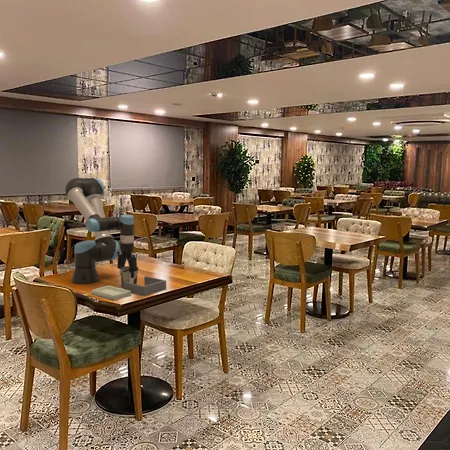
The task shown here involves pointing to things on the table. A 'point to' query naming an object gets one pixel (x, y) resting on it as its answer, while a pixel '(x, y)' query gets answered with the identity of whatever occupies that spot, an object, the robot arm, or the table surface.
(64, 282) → the table surface
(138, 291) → the bay
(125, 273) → the food container
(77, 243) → the robot arm
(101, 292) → the tray
